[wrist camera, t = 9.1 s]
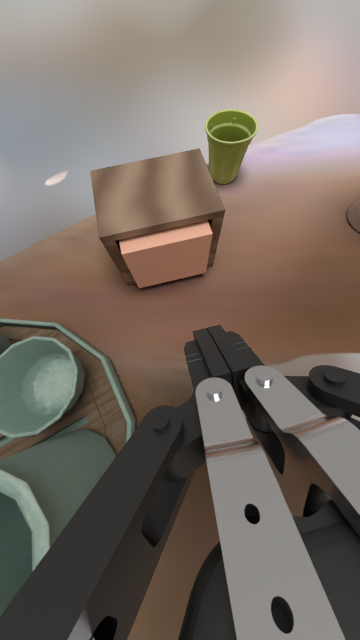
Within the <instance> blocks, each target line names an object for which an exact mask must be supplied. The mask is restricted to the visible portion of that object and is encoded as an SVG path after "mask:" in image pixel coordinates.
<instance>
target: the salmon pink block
mask: <svg viewBox="0 0 360 640" xmlns="http://www.w3.org/2000/svg"><path fill="white" fill-rule="evenodd" d="M212 235H213V233H212V231H211V228H210V225H209V223H208V220H206V221H201V222H197V223H192V224H188V225H183V226H179V227H174V228H169V229H165V230H160V231H156V232H151V233H147V234H142V235H138V236H133V237H129V238H124V239H120V240H119V243H120V248H121V254H122V256H123V258H124V260H125V262H126V264H127V266H128V268H129V270H130V272H131V274H132V276H133V278H134V279H135V281H136V283H137V285H138V287H139V288H143V287H147V286H151V285H156V284H160V283H164V282H168V281H173V280H177V279H181V278H185V277H190V276H194V275H198V274H203V273H206V269H207V263H208V257H209V252H210V246H211V240H212Z"/></svg>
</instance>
